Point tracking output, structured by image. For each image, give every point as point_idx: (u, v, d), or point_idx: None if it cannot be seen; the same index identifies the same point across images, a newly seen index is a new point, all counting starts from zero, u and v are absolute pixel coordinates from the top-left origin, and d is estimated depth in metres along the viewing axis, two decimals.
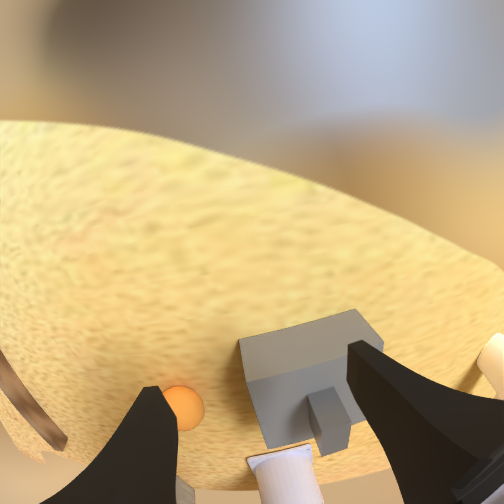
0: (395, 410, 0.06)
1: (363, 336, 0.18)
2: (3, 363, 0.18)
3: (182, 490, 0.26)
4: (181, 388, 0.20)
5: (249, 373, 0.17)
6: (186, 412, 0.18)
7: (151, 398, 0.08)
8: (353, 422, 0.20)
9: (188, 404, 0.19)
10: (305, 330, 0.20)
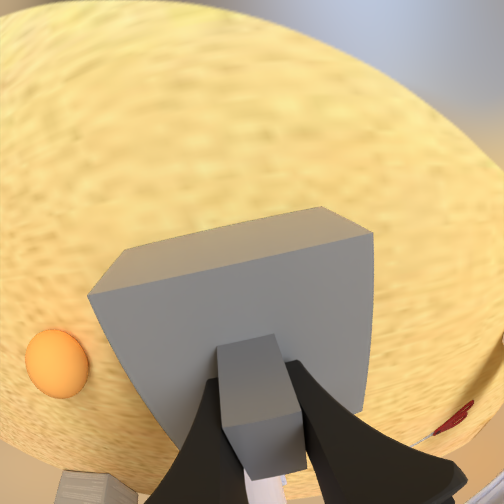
0: (313, 441, 0.06)
1: (331, 229, 0.10)
2: None
3: (116, 492, 0.18)
4: (55, 331, 0.12)
5: (101, 284, 0.09)
6: (48, 364, 0.10)
7: None
8: None
9: (53, 353, 0.11)
10: (226, 230, 0.12)
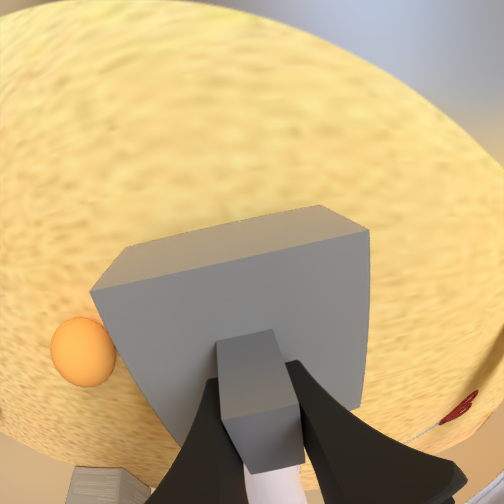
0: (313, 441, 0.06)
1: (328, 226, 0.10)
2: None
3: (130, 487, 0.19)
4: (83, 318, 0.13)
5: (103, 280, 0.09)
6: (78, 351, 0.11)
7: None
8: None
9: (83, 339, 0.12)
10: (226, 228, 0.12)
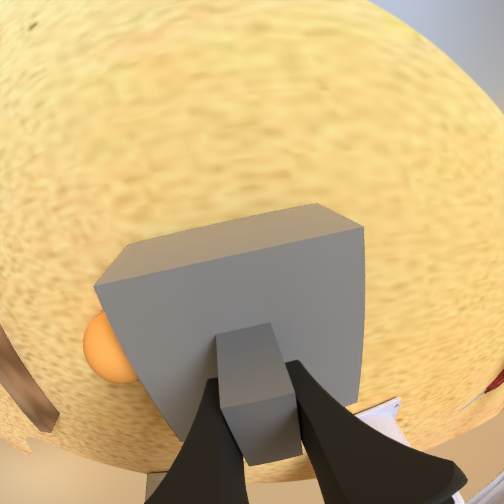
0: (313, 441, 0.06)
1: (324, 223, 0.10)
2: None
3: None
4: (89, 324, 0.12)
5: (107, 275, 0.09)
6: None
7: None
8: None
9: None
10: (225, 226, 0.12)
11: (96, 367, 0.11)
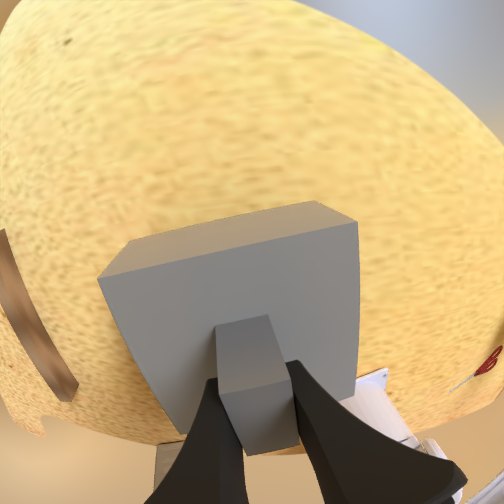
0: (313, 441, 0.06)
1: (319, 219, 0.11)
2: (8, 260, 0.16)
3: None
4: None
5: (110, 269, 0.10)
6: None
7: None
8: None
9: None
10: (224, 222, 0.13)
11: None
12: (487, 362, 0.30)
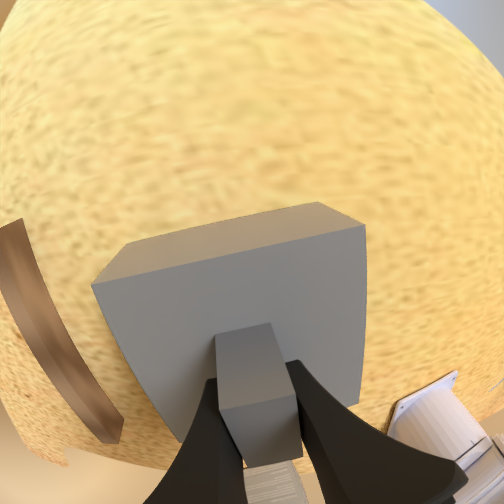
0: (314, 441, 0.06)
1: (325, 221, 0.10)
2: (28, 263, 0.11)
3: (298, 476, 0.20)
4: None
5: (105, 274, 0.09)
6: None
7: None
8: None
9: None
10: (225, 225, 0.12)
11: None
12: None
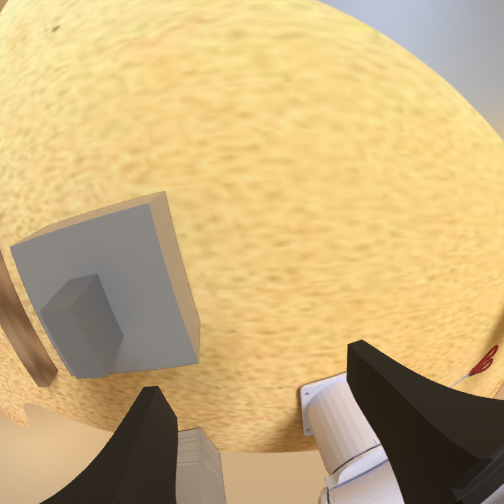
0: (395, 410, 0.06)
1: (135, 204, 0.13)
2: None
3: (207, 448, 0.23)
4: None
5: (19, 241, 0.12)
6: None
7: (151, 398, 0.08)
8: (168, 362, 0.15)
9: None
10: (95, 211, 0.15)
11: None
12: (482, 362, 0.30)
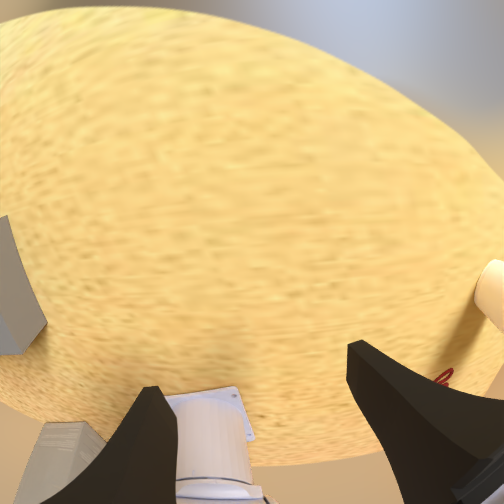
0: (395, 410, 0.06)
1: None
2: None
3: (90, 441, 0.21)
4: None
5: None
6: None
7: (151, 398, 0.08)
8: (7, 350, 0.14)
9: None
10: None
11: None
12: None
